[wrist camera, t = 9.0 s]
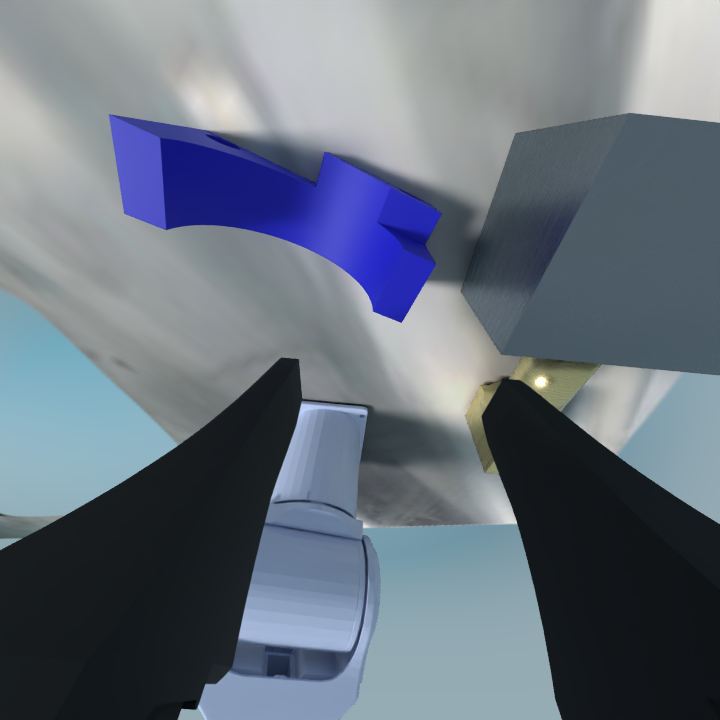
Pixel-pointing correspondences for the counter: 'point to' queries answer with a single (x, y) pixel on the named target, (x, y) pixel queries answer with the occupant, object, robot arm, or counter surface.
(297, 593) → the robot arm
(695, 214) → the block
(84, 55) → the counter surface
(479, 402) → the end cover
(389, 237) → the cable clip
